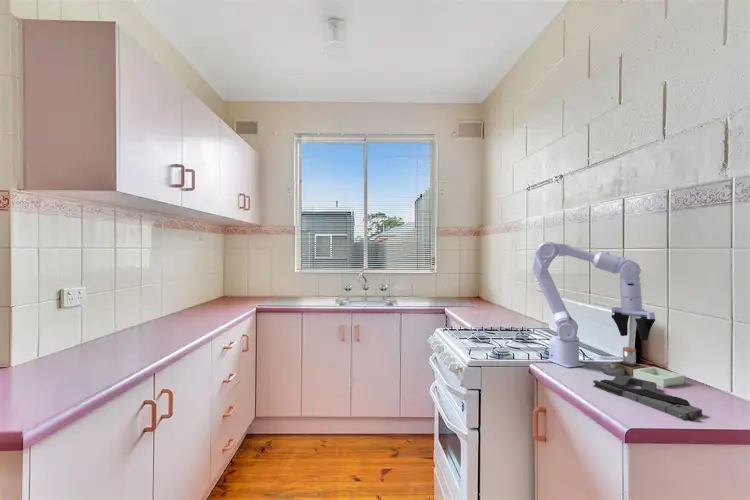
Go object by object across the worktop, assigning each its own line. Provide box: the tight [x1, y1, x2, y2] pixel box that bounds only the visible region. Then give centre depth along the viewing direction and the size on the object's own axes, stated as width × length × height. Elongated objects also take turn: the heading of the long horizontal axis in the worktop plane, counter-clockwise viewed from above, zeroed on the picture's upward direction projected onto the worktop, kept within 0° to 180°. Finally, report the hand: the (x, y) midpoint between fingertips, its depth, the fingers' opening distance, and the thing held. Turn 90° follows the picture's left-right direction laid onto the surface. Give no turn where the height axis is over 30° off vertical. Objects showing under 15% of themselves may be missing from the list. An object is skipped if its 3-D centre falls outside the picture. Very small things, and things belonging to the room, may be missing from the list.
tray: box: [632, 366, 685, 388], centre depth 118 cm, size 9×9×2 cm
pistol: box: [592, 375, 703, 422], centre depth 105 cm, size 2×26×15 cm
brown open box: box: [602, 360, 648, 377], centre depth 126 cm, size 7×14×3 cm, turn 109°
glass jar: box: [622, 346, 637, 367], centre depth 127 cm, size 4×4×8 cm
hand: (633, 337), depth 125 cm, fingers open, 7 cm apart
